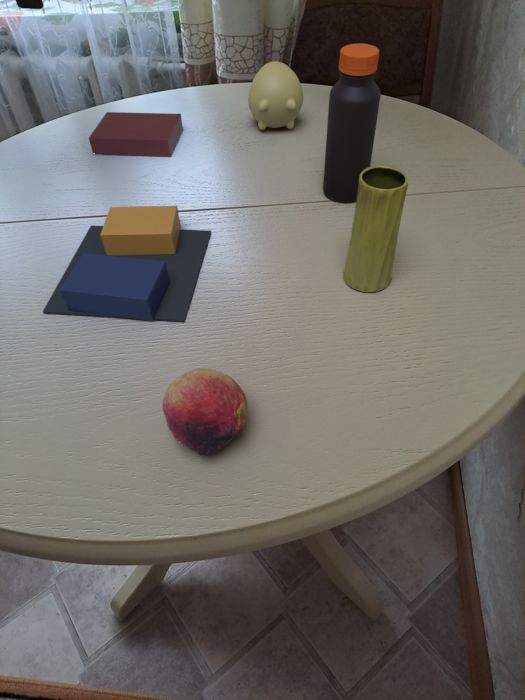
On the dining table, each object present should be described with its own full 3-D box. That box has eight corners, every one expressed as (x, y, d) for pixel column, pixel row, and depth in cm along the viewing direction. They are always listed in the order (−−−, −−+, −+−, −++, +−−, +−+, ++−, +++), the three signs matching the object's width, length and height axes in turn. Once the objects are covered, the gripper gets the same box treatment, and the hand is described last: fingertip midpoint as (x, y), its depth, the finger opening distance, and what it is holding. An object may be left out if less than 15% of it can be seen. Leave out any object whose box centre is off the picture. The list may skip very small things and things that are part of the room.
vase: (390, 295, 63) (413, 194, 52) (341, 291, 63) (354, 190, 52) (390, 264, 66) (411, 164, 56) (344, 260, 67) (356, 161, 56)
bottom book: (93, 154, 88) (88, 138, 86) (111, 127, 95) (106, 111, 92) (170, 157, 87) (167, 140, 84) (183, 129, 93) (180, 113, 91)
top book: (106, 255, 69) (99, 234, 66) (116, 227, 73) (110, 206, 70) (175, 254, 68) (171, 233, 66) (181, 225, 73) (177, 205, 70)
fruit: (244, 397, 53) (239, 347, 47) (254, 461, 48) (250, 415, 42) (171, 407, 52) (156, 359, 46) (173, 473, 47) (158, 429, 41)
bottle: (373, 200, 76) (395, 56, 61) (330, 207, 75) (343, 63, 60) (357, 177, 81) (375, 38, 65) (317, 183, 80) (325, 43, 65)
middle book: (68, 310, 62) (59, 289, 59) (91, 273, 66) (83, 252, 64) (153, 320, 60) (147, 299, 58) (170, 281, 65) (165, 260, 62)
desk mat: (43, 313, 62) (42, 311, 62) (91, 227, 74) (91, 225, 74) (184, 322, 61) (184, 320, 60) (211, 232, 72) (211, 230, 72)
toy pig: (299, 141, 96) (298, 85, 96) (306, 112, 84) (305, 49, 84) (248, 141, 96) (247, 85, 96) (248, 113, 84) (247, 49, 84)
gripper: (-47, -206, 50) (19, -3, 63) (-179, -197, 39) (-66, 46, 52) (21, -207, 49) (74, 0, 62) (-94, -197, 38) (-1, 51, 51)
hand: (10, 21), depth 57 cm, fingers open, 9 cm apart
